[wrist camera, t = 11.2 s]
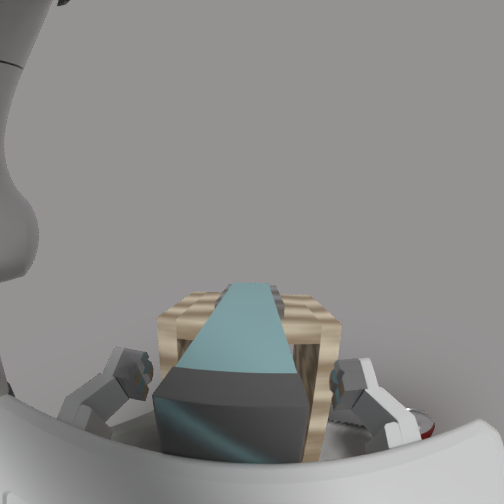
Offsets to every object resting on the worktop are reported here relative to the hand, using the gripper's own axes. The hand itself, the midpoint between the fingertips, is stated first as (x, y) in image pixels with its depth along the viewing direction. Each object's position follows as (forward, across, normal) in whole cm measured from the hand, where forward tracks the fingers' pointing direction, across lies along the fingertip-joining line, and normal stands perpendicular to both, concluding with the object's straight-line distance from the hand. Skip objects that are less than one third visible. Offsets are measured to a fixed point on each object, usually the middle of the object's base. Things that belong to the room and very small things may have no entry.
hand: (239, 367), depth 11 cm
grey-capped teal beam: (+6, 0, +6) cm, 8 cm away
